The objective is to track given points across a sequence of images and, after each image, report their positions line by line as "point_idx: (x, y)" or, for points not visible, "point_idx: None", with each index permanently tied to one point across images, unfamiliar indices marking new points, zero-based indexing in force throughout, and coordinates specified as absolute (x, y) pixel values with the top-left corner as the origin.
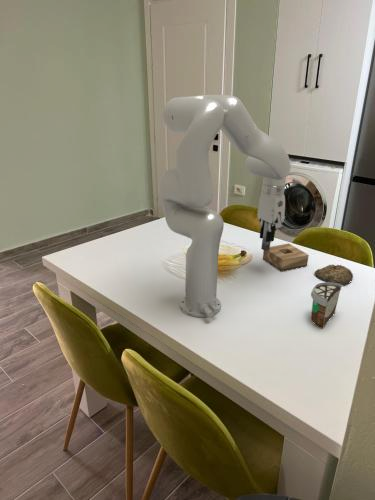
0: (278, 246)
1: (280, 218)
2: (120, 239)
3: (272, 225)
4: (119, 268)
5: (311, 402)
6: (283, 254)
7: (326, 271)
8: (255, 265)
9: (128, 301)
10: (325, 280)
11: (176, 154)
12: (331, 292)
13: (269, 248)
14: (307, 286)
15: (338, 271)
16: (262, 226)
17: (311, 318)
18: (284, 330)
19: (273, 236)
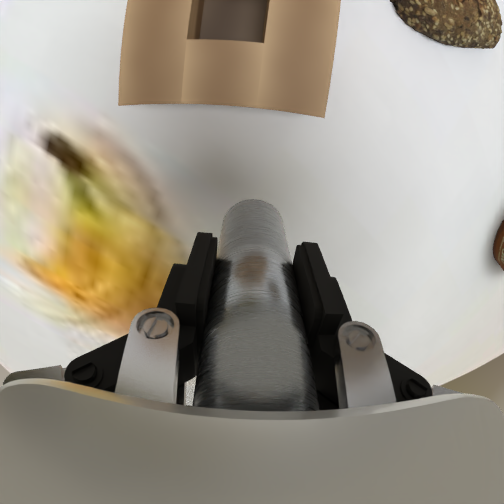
0: (143, 8)
1: (463, 468)
2: (6, 360)
3: (315, 388)
4: None
5: (500, 346)
6: (265, 54)
7: (462, 23)
8: (188, 170)
9: None
10: (457, 46)
11: None
12: None
13: (281, 220)
14: (443, 127)
15: (489, 12)
16: (185, 378)
17: (494, 257)
18: (464, 316)
19: (340, 297)
